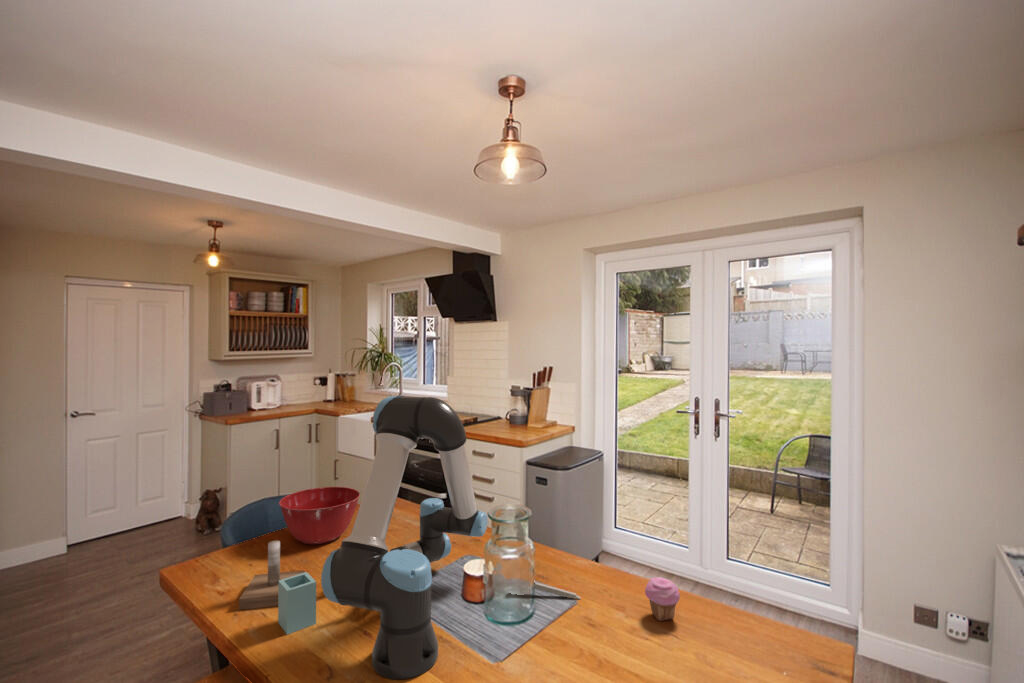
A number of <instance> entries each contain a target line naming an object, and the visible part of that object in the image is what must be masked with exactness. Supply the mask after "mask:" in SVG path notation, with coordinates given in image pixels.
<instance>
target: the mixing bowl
mask: <svg viewBox="0 0 1024 683" xmlns="http://www.w3.org/2000/svg"><path fill="white" fill-rule="evenodd" d="M360 496H361V493H360V492H359V490H357V489H354V488H352V487H351V488H350V487H344V486H324V487H315V488H314V487H313V488H309V489H303V490H299V491H296V492H293V493H290V494H288V495H286V496H283V498H281V499H280V500H279V501H278V505H279V506H280V509H281V513H282V515H283V519H284V522H285V524H286V526H287V528H288V530H289V532H290V533H291V535H292V536H293V537H294V538H295V539H296V540H297V541H299V542H301V543H303V544H305V545H322V544H328V543H329V542H333V541H335V540H336V539H337V538H339V537H340V536H341V535H343V534H344V533H345V531H346V530H347V529H348V527H349V526H350V524H351V521H352V519H353V518H354V514H355V512H356V509H357V506H358V502H359V498H360Z"/></svg>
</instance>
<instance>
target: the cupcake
mask: <svg viewBox="0 0 1024 683" xmlns="http://www.w3.org/2000/svg"><path fill="white" fill-rule="evenodd" d="M644 593H645V594H644V595H645V596H646V597H647V599H648V601H649V605H650V609H651V612H652V614H653V616H654V618H655V619H657V621H661V622H663V621H668V620H673V619H674V618H675V611H676V606H677V604H678V603H679V600H680V598H681V596H680V592H679V589H678V586H677V585H676V584H675V583H674V582H673V581H672V580H670V579H668V578H664V577H660V576H659V577H658V576H657V577H653V578H652V577H651V578H650V579H649V581H648V582H647V583H646V586H645V590H644Z"/></svg>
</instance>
